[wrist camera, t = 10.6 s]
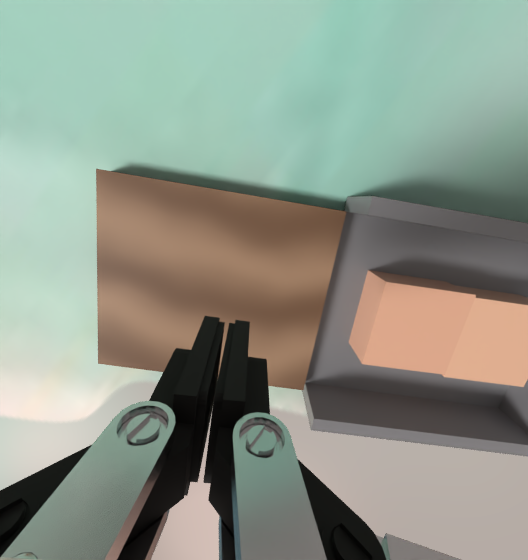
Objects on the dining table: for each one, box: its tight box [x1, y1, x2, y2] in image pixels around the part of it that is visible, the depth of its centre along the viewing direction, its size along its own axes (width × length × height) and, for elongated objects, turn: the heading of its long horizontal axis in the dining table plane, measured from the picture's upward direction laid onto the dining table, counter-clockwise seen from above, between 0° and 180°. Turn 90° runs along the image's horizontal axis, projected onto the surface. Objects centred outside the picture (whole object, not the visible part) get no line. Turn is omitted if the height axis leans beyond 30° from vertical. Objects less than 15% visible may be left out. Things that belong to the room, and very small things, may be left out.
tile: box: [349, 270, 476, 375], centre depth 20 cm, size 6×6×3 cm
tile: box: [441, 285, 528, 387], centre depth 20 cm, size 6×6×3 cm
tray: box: [302, 196, 528, 456], centre depth 20 cm, size 16×18×4 cm
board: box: [96, 169, 346, 390], centre depth 20 cm, size 14×16×2 cm
